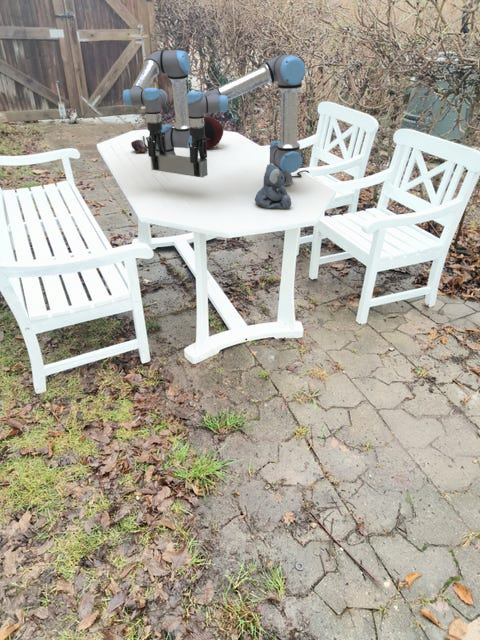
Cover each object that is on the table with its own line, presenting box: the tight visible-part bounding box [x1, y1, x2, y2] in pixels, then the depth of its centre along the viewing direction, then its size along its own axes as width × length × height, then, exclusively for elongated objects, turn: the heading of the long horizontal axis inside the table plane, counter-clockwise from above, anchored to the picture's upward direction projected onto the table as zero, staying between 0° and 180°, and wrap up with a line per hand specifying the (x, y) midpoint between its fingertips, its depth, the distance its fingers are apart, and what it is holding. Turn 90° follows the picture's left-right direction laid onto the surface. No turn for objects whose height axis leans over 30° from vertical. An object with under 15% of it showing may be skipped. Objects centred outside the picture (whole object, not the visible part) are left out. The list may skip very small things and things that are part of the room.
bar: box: [150, 153, 209, 179], centre depth 236 cm, size 32×5×8 cm, turn 62°
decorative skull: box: [196, 116, 224, 149], centre depth 324 cm, size 21×24×25 cm
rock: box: [130, 139, 148, 153], centre depth 317 cm, size 12×9×10 cm
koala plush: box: [254, 162, 292, 210], centre depth 225 cm, size 17×18×20 cm
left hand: (159, 167), depth 243 cm, fingers open, 5 cm apart
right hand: (199, 174), depth 233 cm, fingers closed on bar, 5 cm apart
